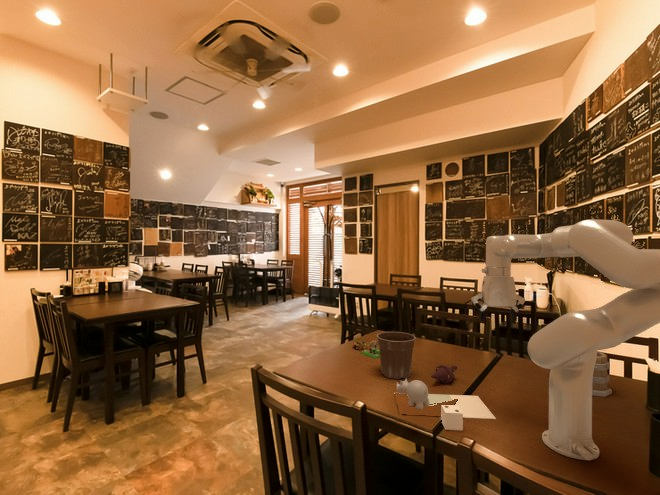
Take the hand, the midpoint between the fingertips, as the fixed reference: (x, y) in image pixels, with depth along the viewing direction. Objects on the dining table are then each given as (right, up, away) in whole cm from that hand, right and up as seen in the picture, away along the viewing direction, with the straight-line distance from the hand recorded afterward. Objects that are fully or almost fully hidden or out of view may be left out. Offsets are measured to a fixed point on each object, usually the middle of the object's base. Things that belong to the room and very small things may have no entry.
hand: (497, 322), depth 113 cm
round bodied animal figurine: (-29, -28, +1) cm, 40 cm away
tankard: (+38, -29, +15) cm, 50 cm away
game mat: (-19, -28, +1) cm, 34 cm away
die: (-20, -28, -12) cm, 37 cm away
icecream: (-11, -29, +20) cm, 37 cm away
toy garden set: (-32, -29, +62) cm, 75 cm away
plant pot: (-29, -28, +28) cm, 50 cm away
